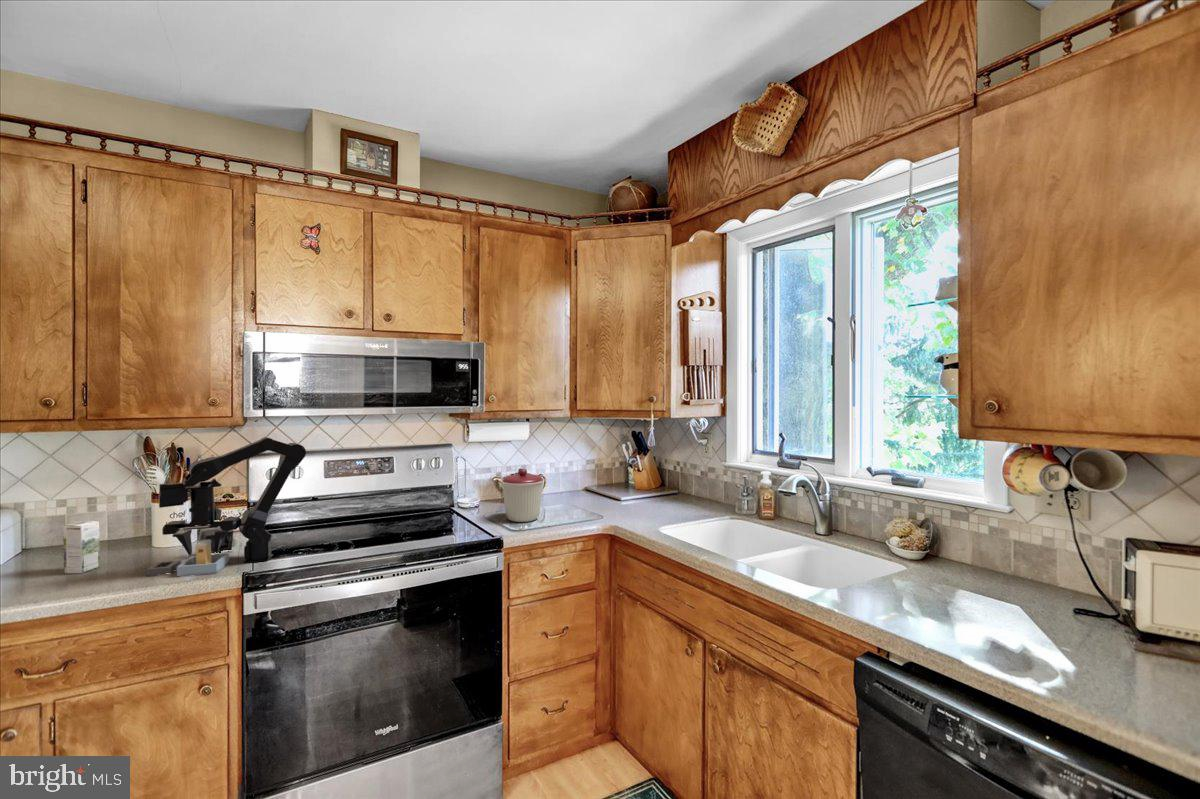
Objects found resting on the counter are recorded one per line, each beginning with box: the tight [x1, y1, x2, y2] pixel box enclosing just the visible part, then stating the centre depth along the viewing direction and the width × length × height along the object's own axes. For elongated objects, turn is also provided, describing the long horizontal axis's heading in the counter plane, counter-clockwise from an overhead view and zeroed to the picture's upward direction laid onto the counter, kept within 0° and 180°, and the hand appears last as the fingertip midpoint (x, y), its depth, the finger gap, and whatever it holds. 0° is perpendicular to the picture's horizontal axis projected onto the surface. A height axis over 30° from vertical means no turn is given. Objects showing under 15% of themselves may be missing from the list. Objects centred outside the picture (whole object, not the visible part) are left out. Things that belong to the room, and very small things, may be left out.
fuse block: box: [145, 559, 182, 577], centre depth 164 cm, size 6×7×2 cm
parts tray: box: [176, 552, 230, 577], centre depth 165 cm, size 10×10×3 cm
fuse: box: [195, 539, 211, 565], centre depth 165 cm, size 2×4×8 cm, turn 16°
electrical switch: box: [198, 528, 234, 553], centre depth 180 cm, size 9×5×9 cm, turn 141°
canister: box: [500, 468, 546, 523], centre depth 225 cm, size 18×18×21 cm
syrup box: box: [62, 520, 101, 574], centre depth 164 cm, size 6×6×14 cm
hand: (203, 553), depth 165 cm, fingers open, 7 cm apart
